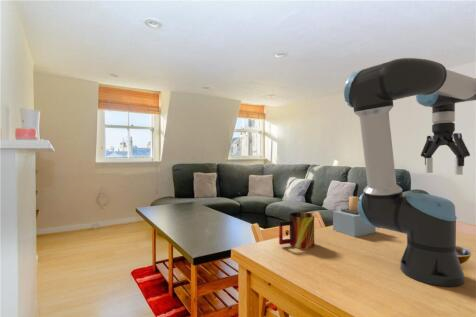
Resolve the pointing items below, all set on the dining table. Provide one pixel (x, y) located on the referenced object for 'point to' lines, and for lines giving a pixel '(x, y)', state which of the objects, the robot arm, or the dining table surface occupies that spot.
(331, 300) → the dining table surface
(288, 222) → the mug
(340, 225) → the socket block
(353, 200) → the peg
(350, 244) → the dining table surface
